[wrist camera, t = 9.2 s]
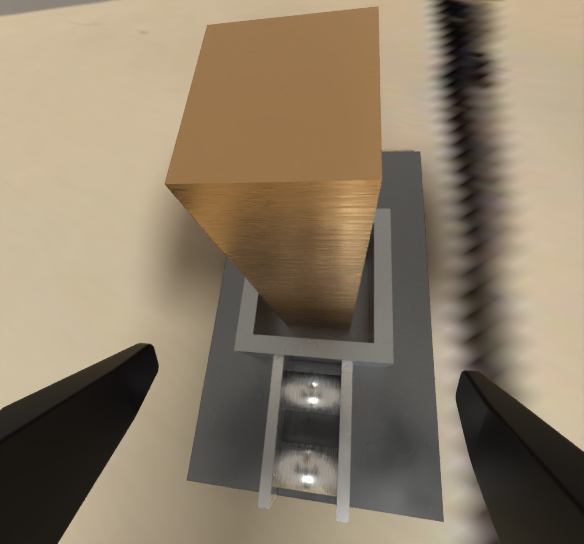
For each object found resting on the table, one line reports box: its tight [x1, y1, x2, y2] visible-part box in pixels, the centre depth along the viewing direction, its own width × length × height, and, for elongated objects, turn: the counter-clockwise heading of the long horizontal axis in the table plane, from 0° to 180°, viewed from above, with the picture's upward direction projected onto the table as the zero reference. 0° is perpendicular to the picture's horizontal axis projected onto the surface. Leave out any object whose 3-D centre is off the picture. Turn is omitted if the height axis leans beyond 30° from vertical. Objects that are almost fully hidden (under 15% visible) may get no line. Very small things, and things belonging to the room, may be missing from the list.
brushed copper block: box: [165, 7, 382, 330], centre depth 11 cm, size 4×4×13 cm
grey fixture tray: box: [187, 152, 444, 523], centre depth 17 cm, size 20×12×4 cm, turn 175°
